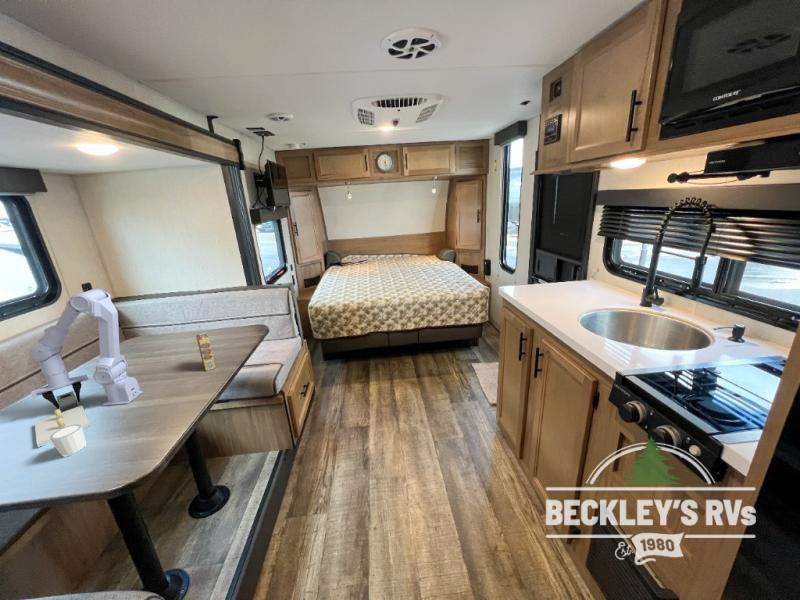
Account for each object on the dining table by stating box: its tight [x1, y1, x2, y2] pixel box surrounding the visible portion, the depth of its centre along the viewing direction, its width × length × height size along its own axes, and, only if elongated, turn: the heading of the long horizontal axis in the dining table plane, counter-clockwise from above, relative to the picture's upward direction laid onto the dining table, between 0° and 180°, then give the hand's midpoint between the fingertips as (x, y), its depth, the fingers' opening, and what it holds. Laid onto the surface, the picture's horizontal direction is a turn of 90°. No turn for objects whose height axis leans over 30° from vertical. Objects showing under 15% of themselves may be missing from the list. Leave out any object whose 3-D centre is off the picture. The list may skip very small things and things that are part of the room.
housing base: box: [34, 405, 91, 448], centre depth 107 cm, size 18×12×5 cm, turn 51°
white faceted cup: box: [50, 424, 87, 456], centre depth 94 cm, size 7×7×7 cm
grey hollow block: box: [55, 390, 80, 413], centre depth 118 cm, size 6×4×5 cm
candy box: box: [195, 332, 216, 371], centre depth 142 cm, size 9×4×15 cm, turn 39°
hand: (68, 404), depth 118 cm, fingers open, 5 cm apart
